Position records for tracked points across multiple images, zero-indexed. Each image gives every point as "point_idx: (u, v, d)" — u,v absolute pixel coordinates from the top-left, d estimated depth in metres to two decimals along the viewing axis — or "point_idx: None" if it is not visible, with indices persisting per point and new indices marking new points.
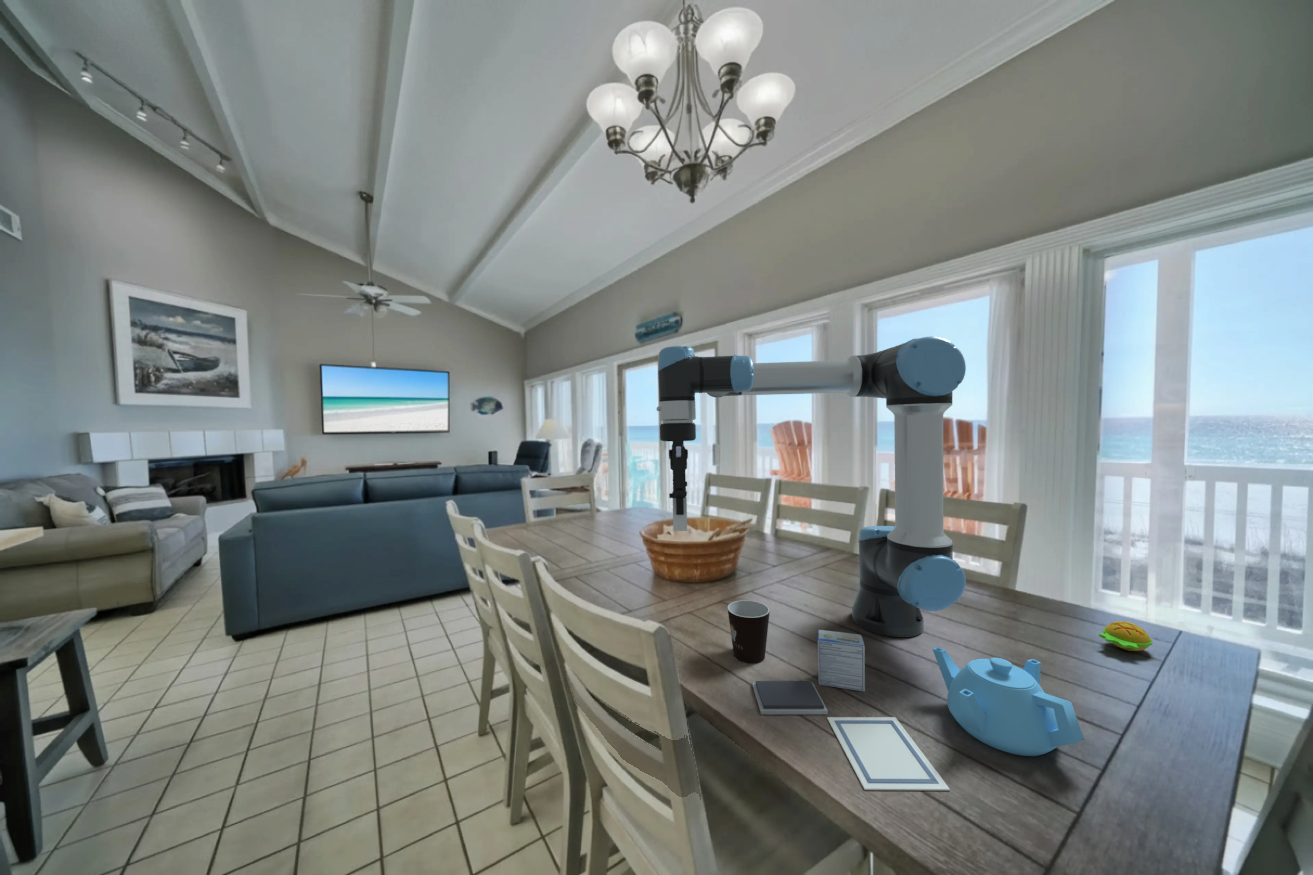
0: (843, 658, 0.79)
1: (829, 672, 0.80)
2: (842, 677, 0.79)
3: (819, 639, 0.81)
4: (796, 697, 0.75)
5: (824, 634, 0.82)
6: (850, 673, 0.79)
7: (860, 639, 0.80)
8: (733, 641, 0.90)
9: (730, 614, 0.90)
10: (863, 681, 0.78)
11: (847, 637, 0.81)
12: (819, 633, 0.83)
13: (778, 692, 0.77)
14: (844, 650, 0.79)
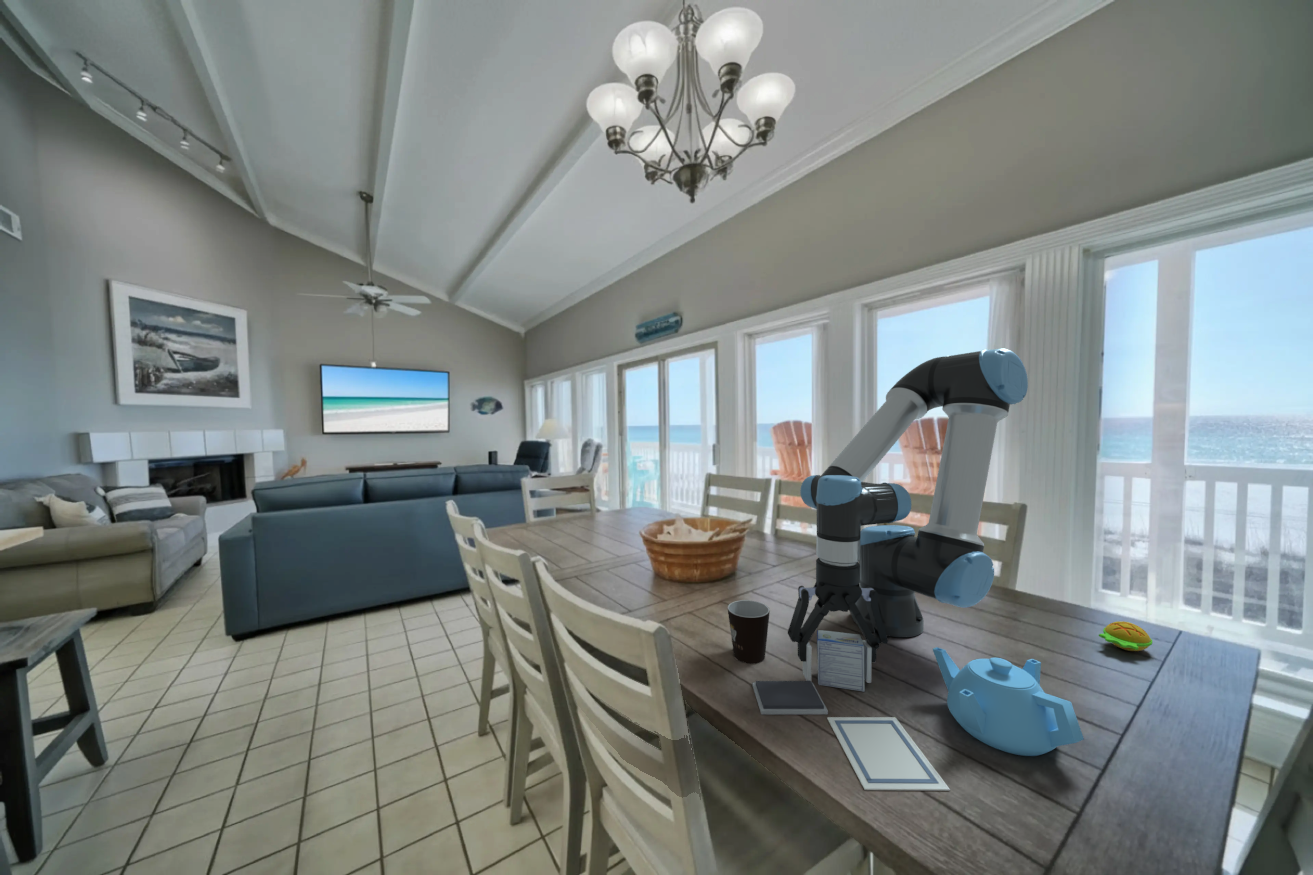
0: (842, 658, 0.79)
1: (829, 672, 0.80)
2: (842, 677, 0.79)
3: (819, 639, 0.81)
4: (796, 697, 0.75)
5: (823, 634, 0.82)
6: (850, 673, 0.79)
7: (859, 639, 0.80)
8: (733, 641, 0.90)
9: (730, 614, 0.90)
10: (863, 681, 0.78)
11: (847, 637, 0.81)
12: (818, 633, 0.83)
13: (778, 692, 0.77)
14: (843, 650, 0.79)
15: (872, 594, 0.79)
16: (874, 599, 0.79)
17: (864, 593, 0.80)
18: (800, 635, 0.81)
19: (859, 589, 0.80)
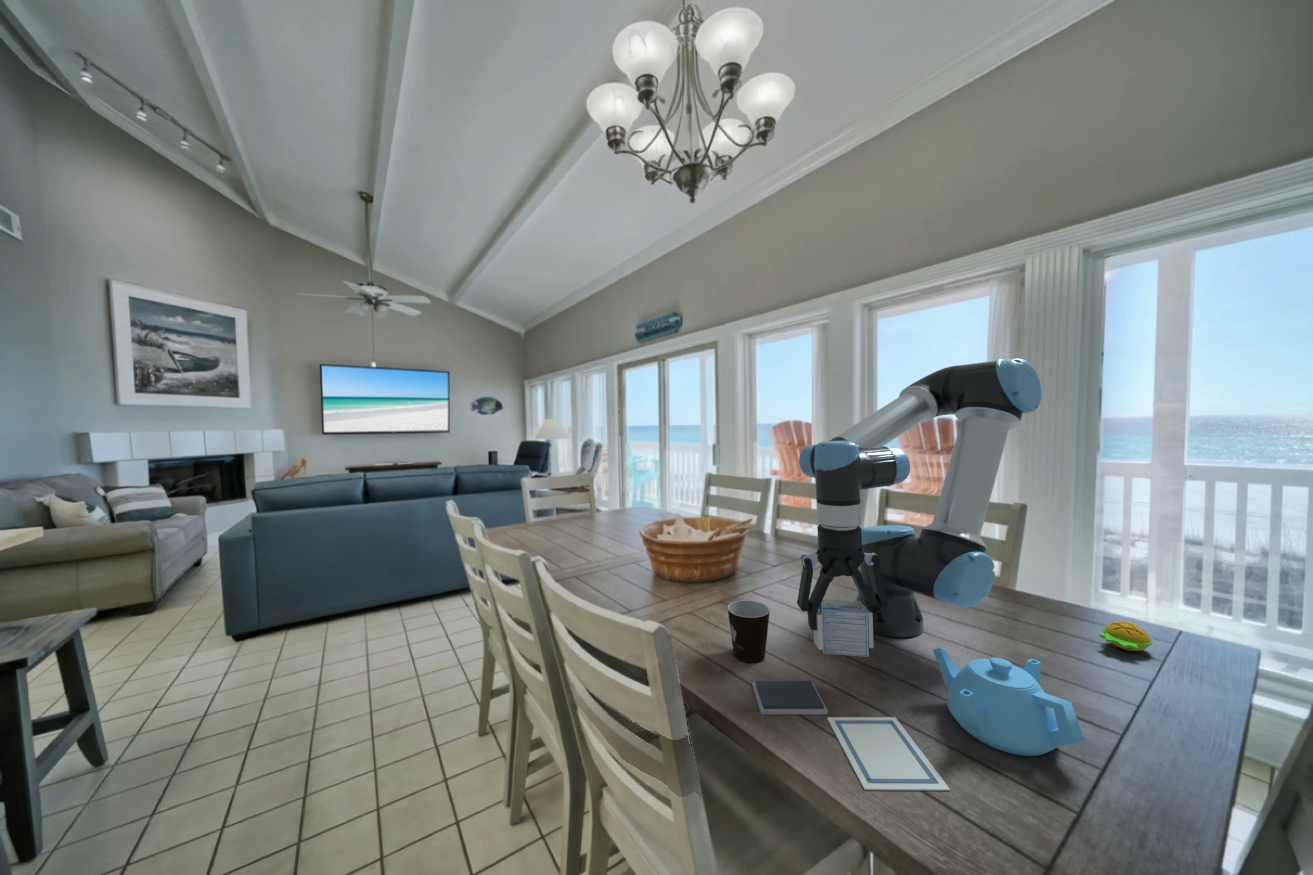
0: (846, 625, 0.79)
1: (833, 640, 0.80)
2: (846, 645, 0.79)
3: (822, 608, 0.80)
4: (796, 697, 0.75)
5: (826, 603, 0.82)
6: (854, 639, 0.79)
7: (862, 605, 0.80)
8: (733, 641, 0.90)
9: (730, 614, 0.90)
10: (867, 646, 0.78)
11: (849, 604, 0.81)
12: (821, 603, 0.82)
13: (778, 692, 0.77)
14: (847, 617, 0.79)
15: (875, 558, 0.79)
16: (876, 563, 0.79)
17: (867, 558, 0.80)
18: (809, 604, 0.81)
19: (862, 553, 0.79)
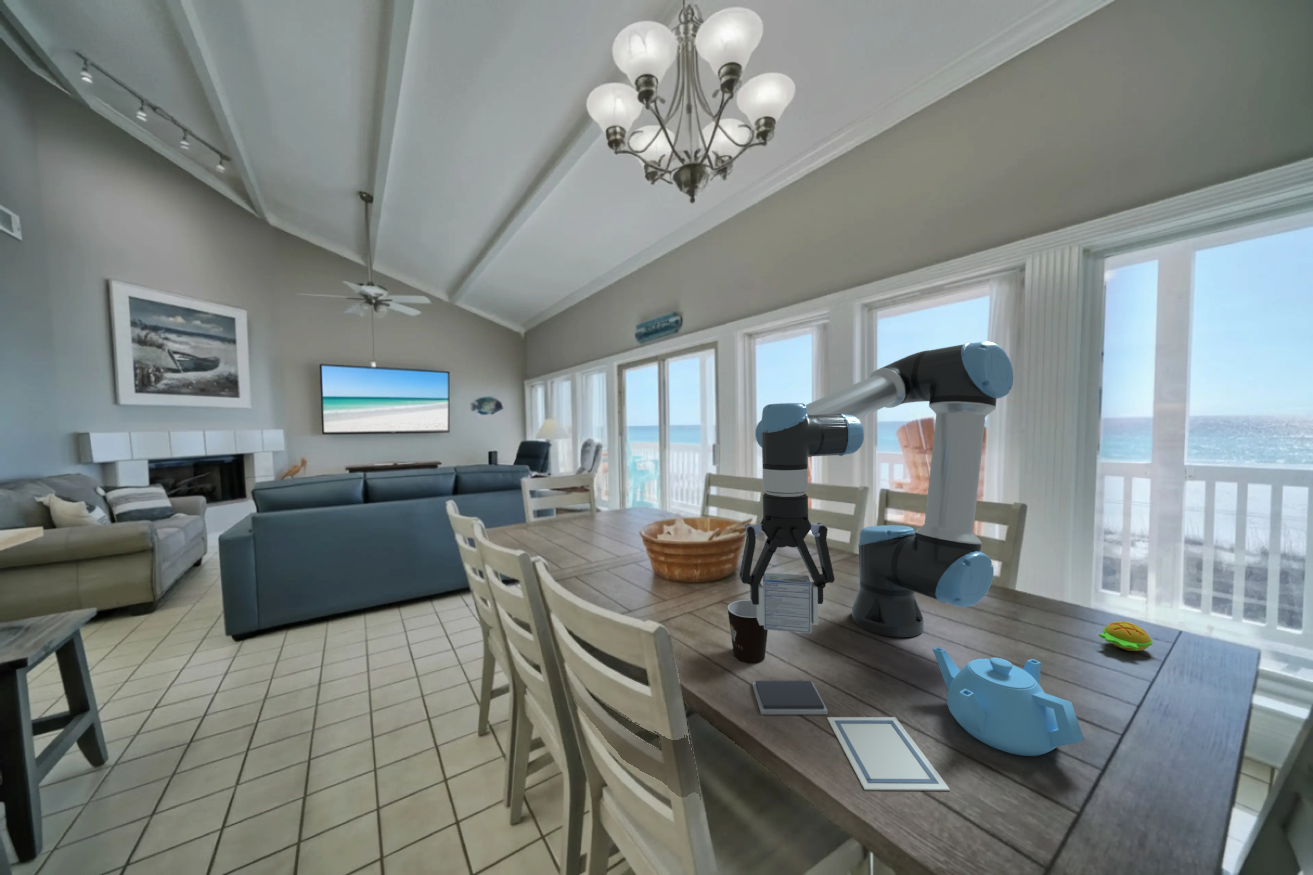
0: (789, 598, 0.74)
1: (775, 615, 0.75)
2: (789, 620, 0.74)
3: (765, 580, 0.75)
4: (796, 697, 0.75)
5: (770, 576, 0.77)
6: (797, 614, 0.74)
7: (807, 579, 0.75)
8: (733, 641, 0.90)
9: (730, 614, 0.90)
10: (810, 622, 0.73)
11: (794, 578, 0.76)
12: (765, 575, 0.77)
13: (778, 692, 0.77)
14: (790, 590, 0.74)
15: (821, 529, 0.74)
16: (823, 535, 0.74)
17: (814, 529, 0.75)
18: (751, 577, 0.76)
19: (808, 523, 0.75)
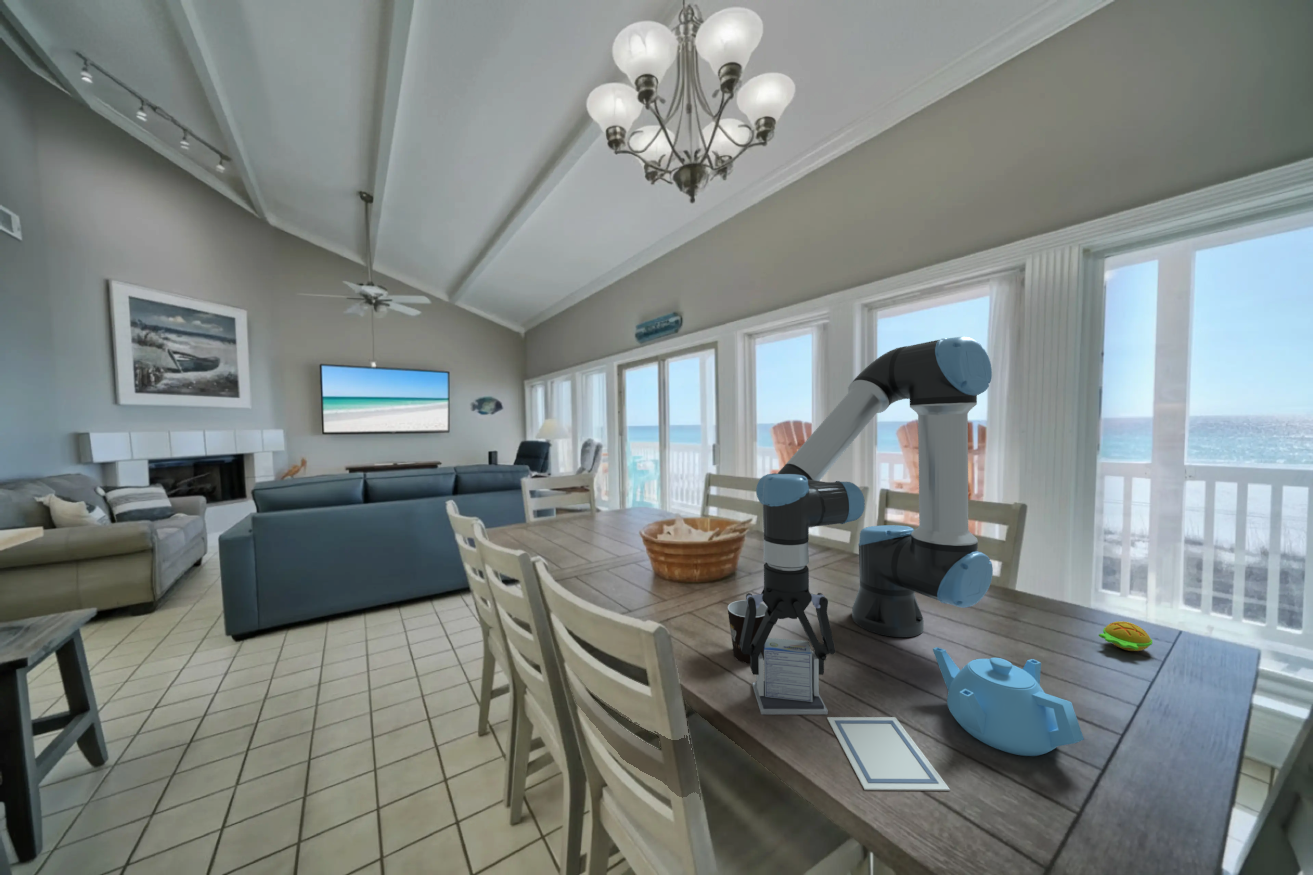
0: (790, 667, 0.74)
1: (776, 683, 0.75)
2: (789, 688, 0.74)
3: (765, 648, 0.75)
4: None
5: (770, 643, 0.77)
6: (798, 683, 0.74)
7: (807, 646, 0.75)
8: (733, 641, 0.90)
9: (730, 614, 0.90)
10: (810, 691, 0.74)
11: (794, 645, 0.76)
12: None
13: None
14: (791, 659, 0.74)
15: (822, 601, 0.75)
16: (824, 606, 0.75)
17: (814, 600, 0.76)
18: (751, 647, 0.77)
19: (809, 595, 0.75)
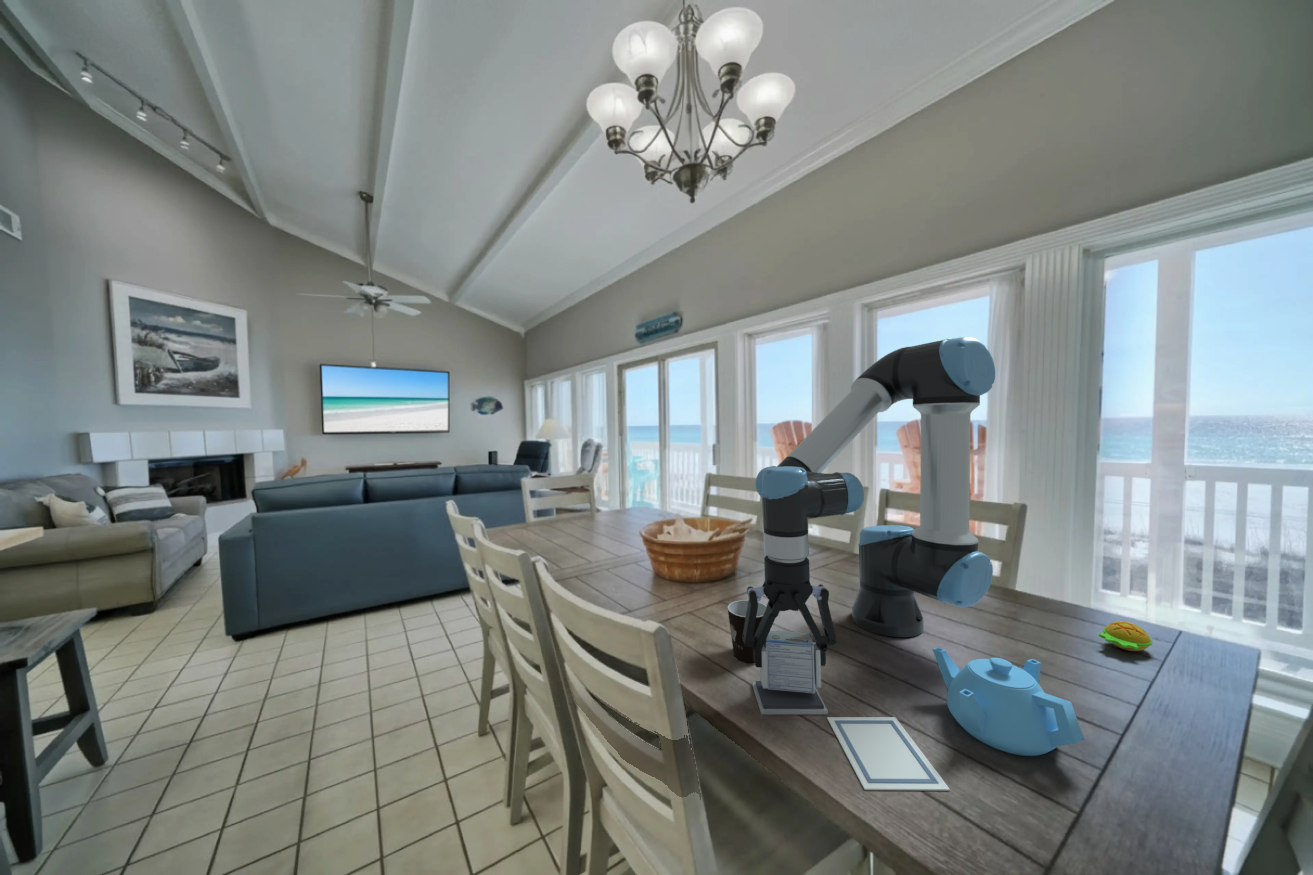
0: (792, 659, 0.74)
1: (778, 675, 0.75)
2: (792, 680, 0.75)
3: (767, 641, 0.76)
4: (796, 697, 0.75)
5: (772, 635, 0.77)
6: (800, 675, 0.74)
7: (809, 638, 0.76)
8: (733, 641, 0.90)
9: (730, 614, 0.90)
10: (813, 682, 0.74)
11: (796, 637, 0.76)
12: None
13: (778, 692, 0.77)
14: (793, 651, 0.74)
15: (823, 593, 0.75)
16: (825, 598, 0.75)
17: (815, 592, 0.76)
18: (754, 640, 0.77)
19: (810, 587, 0.75)
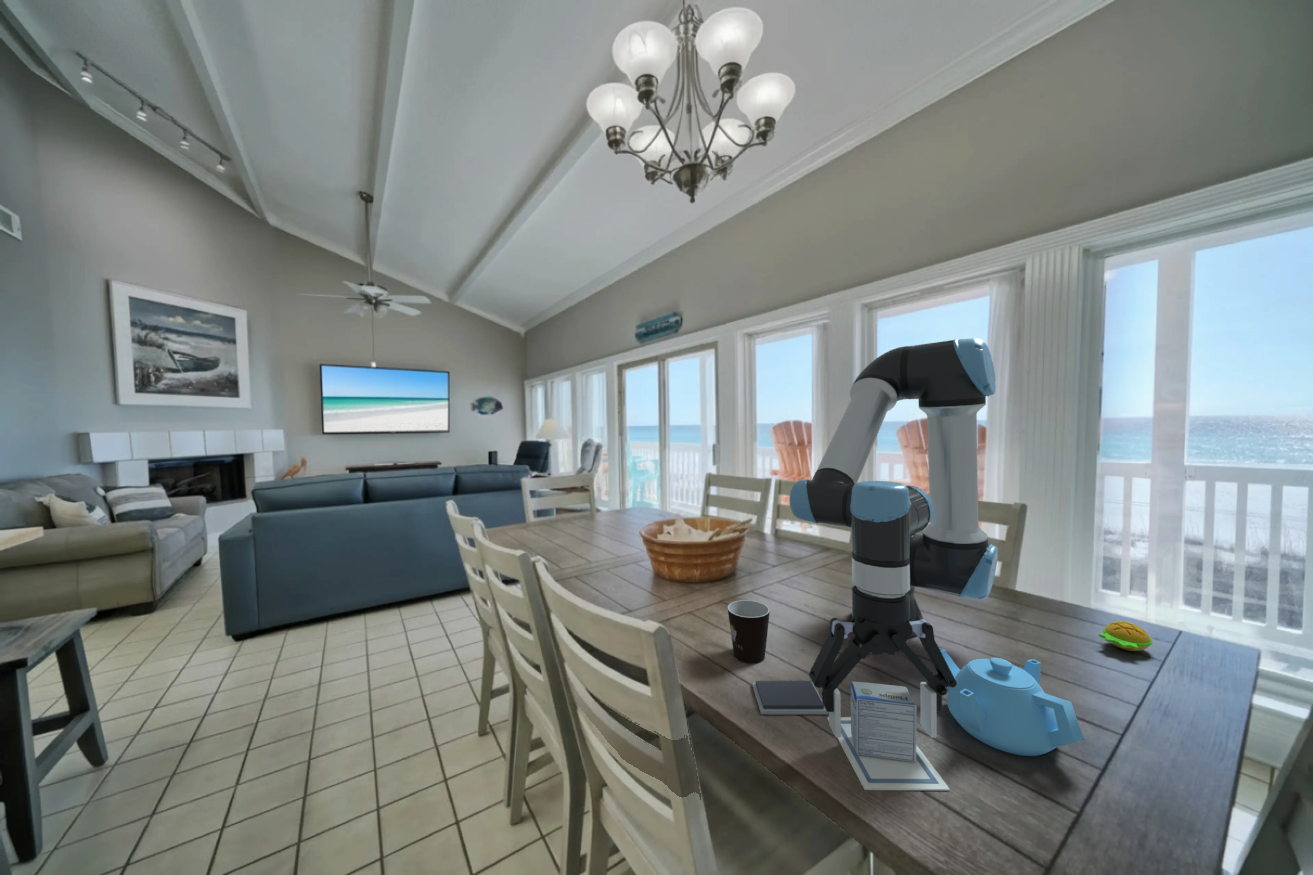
0: (889, 720, 0.62)
1: (871, 738, 0.63)
2: (888, 745, 0.62)
3: (857, 697, 0.63)
4: (796, 697, 0.75)
5: (861, 689, 0.65)
6: (898, 739, 0.62)
7: (908, 694, 0.63)
8: (733, 641, 0.90)
9: (730, 614, 0.90)
10: (914, 749, 0.61)
11: (891, 692, 0.64)
12: (855, 687, 0.65)
13: (778, 692, 0.77)
14: (890, 711, 0.62)
15: (926, 629, 0.62)
16: (929, 634, 0.62)
17: (916, 629, 0.63)
18: (826, 678, 0.64)
19: (908, 625, 0.63)
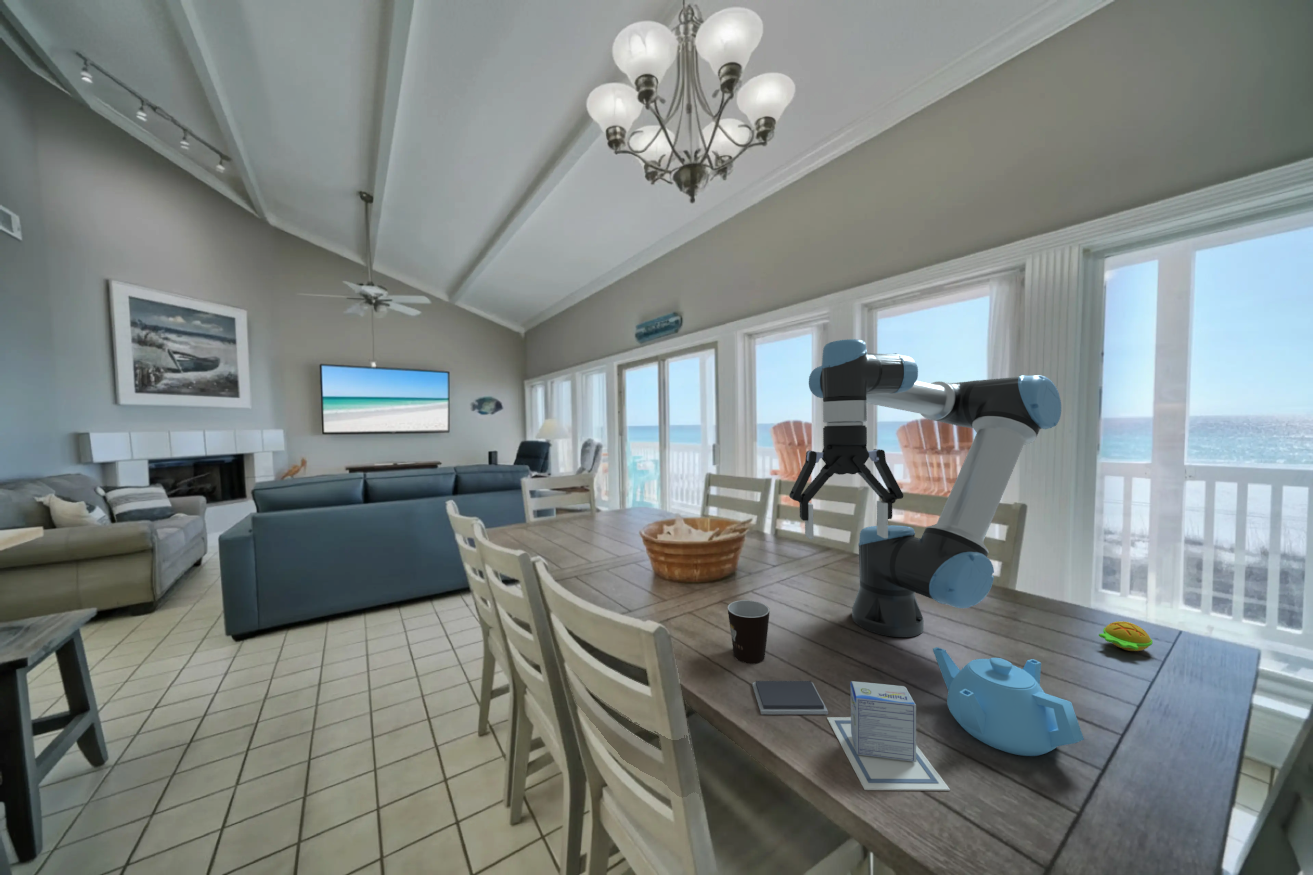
0: (888, 720, 0.62)
1: (870, 738, 0.63)
2: (888, 745, 0.62)
3: (857, 696, 0.63)
4: (796, 697, 0.75)
5: (861, 688, 0.65)
6: (898, 739, 0.62)
7: (907, 694, 0.63)
8: (733, 641, 0.90)
9: (730, 614, 0.90)
10: (914, 749, 0.61)
11: (891, 692, 0.64)
12: (854, 687, 0.65)
13: (778, 692, 0.77)
14: (889, 710, 0.62)
15: (879, 453, 0.81)
16: (882, 457, 0.81)
17: (872, 455, 0.81)
18: (802, 495, 0.82)
19: (866, 451, 0.81)
